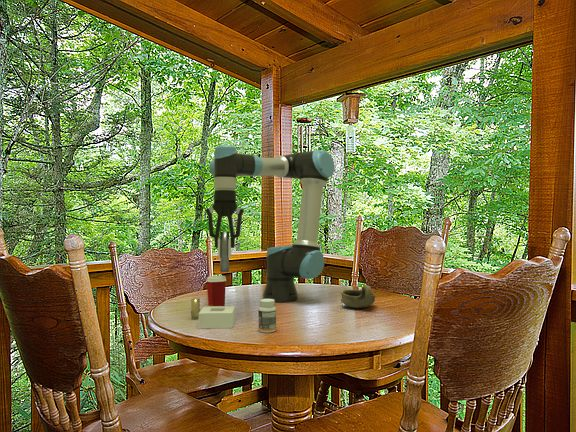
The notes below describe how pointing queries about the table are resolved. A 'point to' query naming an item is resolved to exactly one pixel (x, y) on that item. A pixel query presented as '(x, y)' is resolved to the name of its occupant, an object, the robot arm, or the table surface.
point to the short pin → (195, 308)
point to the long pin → (224, 251)
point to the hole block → (217, 317)
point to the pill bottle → (267, 316)
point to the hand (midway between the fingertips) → (224, 257)
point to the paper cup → (216, 290)
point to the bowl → (358, 297)
